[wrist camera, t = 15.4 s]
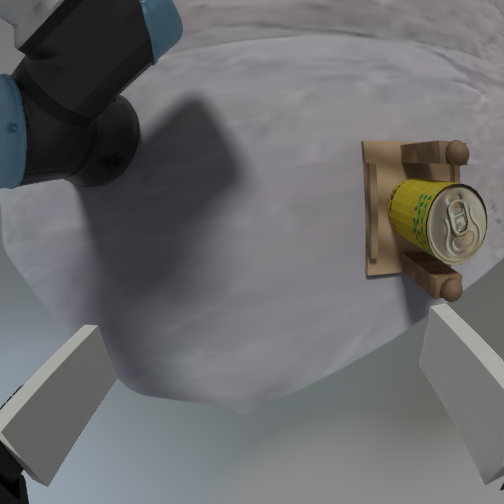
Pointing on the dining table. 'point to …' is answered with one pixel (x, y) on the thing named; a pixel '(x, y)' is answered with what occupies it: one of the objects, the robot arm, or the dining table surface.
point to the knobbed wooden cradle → (376, 201)
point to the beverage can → (439, 217)
